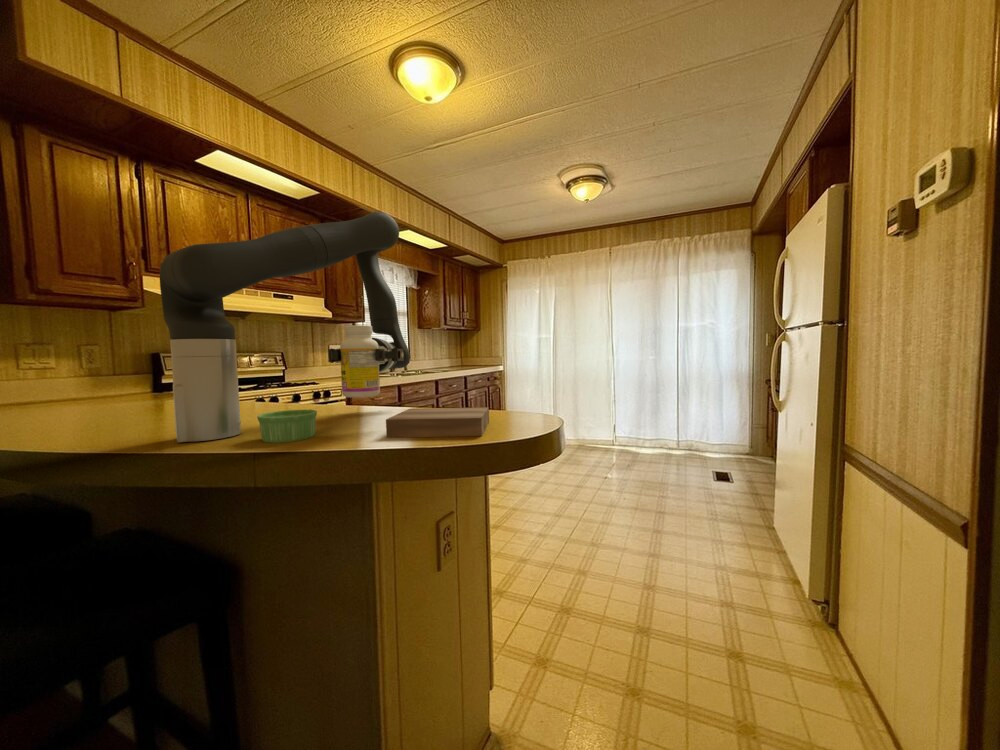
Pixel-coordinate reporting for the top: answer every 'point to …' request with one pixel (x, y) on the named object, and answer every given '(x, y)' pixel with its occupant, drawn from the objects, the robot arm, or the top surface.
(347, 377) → the supplement bottle
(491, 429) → the top surface
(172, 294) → the robot arm
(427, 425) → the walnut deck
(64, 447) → the top surface
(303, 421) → the ramekin
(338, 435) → the top surface
